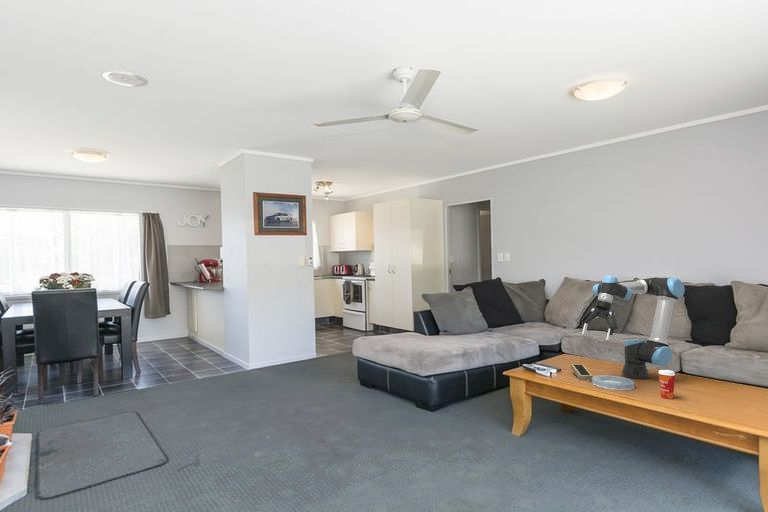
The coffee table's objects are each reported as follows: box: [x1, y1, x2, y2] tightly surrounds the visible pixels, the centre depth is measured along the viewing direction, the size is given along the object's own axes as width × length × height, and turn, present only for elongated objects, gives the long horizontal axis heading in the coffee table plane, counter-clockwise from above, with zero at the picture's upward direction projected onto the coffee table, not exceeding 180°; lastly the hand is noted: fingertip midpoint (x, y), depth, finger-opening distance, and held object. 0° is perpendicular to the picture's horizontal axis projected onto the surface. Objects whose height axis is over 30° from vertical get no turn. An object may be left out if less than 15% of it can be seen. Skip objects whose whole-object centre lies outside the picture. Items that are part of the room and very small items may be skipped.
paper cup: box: [658, 369, 676, 400], centre depth 233 cm, size 8×8×14 cm
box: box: [570, 363, 594, 383], centre depth 275 cm, size 8×22×5 cm, turn 175°
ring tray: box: [591, 374, 636, 391], centre depth 257 cm, size 22×22×3 cm
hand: (595, 337), depth 249 cm, fingers open, 13 cm apart
